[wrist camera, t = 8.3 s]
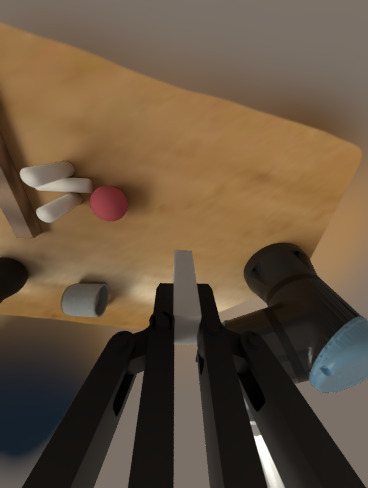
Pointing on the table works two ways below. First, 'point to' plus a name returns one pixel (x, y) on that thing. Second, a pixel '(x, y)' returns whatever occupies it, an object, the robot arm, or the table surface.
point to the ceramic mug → (85, 300)
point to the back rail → (15, 199)
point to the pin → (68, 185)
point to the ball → (108, 203)
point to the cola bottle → (11, 277)
